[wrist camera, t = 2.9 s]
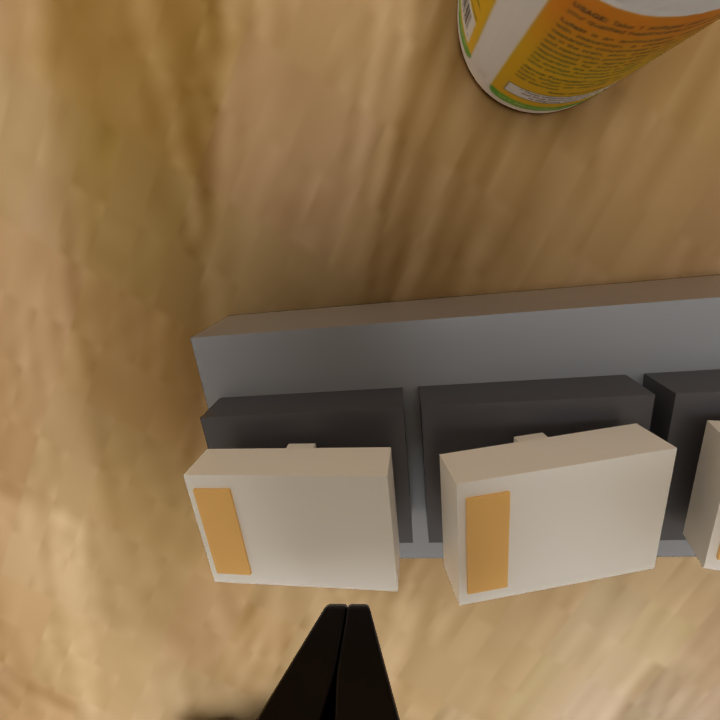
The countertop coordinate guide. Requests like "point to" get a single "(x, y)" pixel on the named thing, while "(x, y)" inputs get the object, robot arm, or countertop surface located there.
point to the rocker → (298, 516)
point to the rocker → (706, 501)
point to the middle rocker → (553, 510)
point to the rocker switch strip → (471, 381)
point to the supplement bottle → (569, 44)
